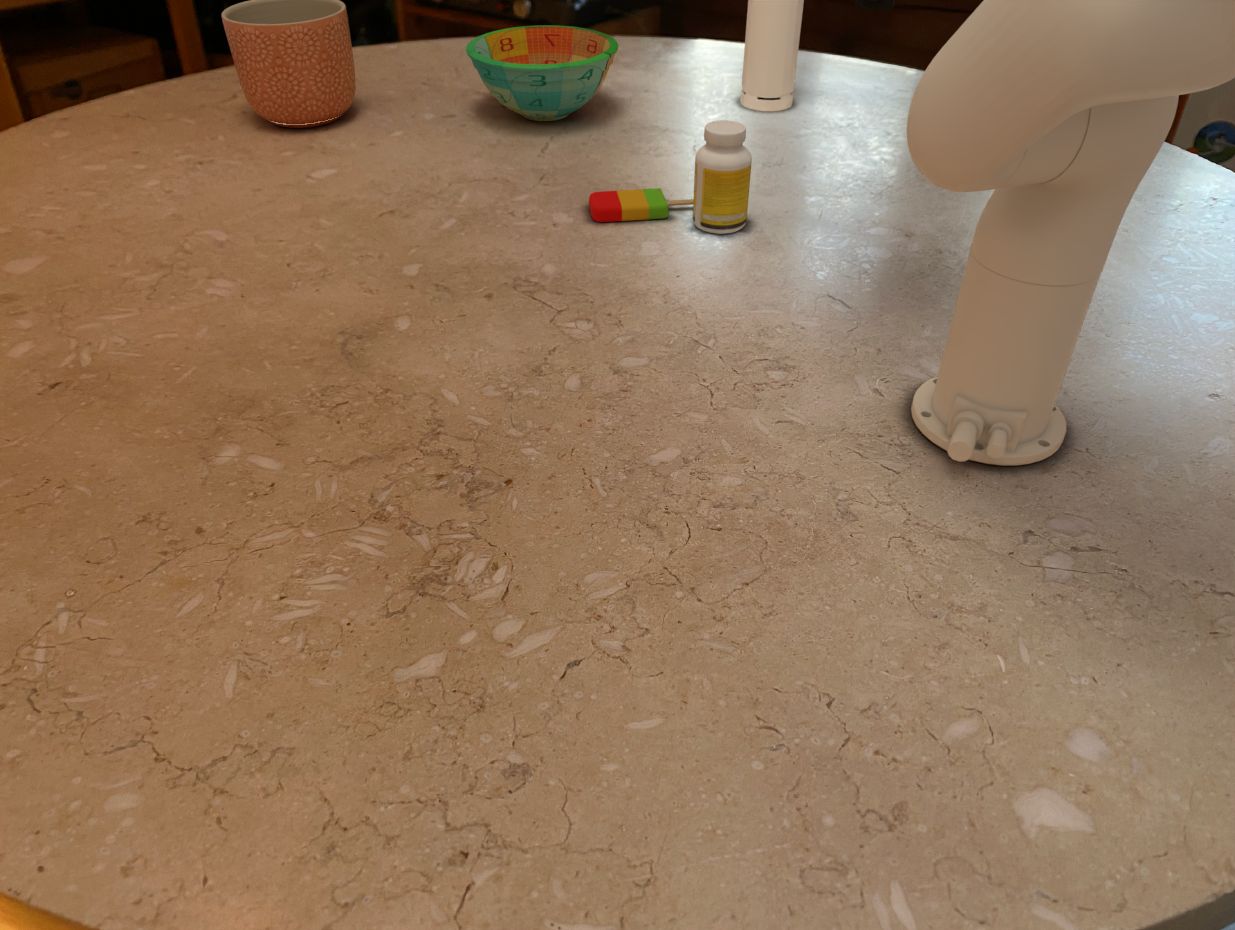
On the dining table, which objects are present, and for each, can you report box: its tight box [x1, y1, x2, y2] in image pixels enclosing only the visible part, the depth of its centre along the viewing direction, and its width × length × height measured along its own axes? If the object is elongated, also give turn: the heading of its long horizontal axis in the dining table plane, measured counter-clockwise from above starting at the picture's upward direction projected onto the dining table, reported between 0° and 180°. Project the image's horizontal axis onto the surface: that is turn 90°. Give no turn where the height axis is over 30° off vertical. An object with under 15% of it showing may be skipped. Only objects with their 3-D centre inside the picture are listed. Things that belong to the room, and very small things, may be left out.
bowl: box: [465, 24, 619, 122], centre depth 140 cm, size 22×22×10 cm
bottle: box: [739, 0, 805, 112], centre depth 138 cm, size 8×8×28 cm
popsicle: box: [588, 187, 694, 223], centre depth 115 cm, size 6×15×2 cm, turn 98°
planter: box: [221, 0, 357, 129], centre depth 138 cm, size 17×17×15 cm
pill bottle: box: [692, 119, 753, 235], centre depth 109 cm, size 6×6×12 cm
